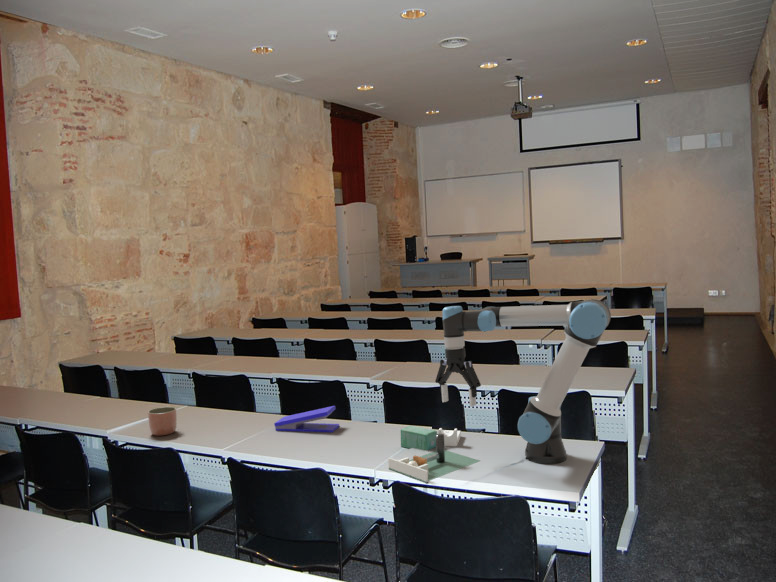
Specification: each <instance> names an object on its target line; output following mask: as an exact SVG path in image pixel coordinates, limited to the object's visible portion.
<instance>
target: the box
mask: <svg viewBox="0 0 776 582" xmlns="http://www.w3.org/2000/svg"><path fill="white" fill-rule="evenodd" d="M436 434H438V432H437V430H435V429H434V430H433V429H429V428H426V427H425V428H424V427H420V426H413V425H408V426H407V427H403V428H401V429H400V447H402V448H405V449H417V450H423V451H429V450H432V449H434V448H436V437H435V435H436Z"/></svg>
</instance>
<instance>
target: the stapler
mask: <svg viewBox="0 0 776 582" xmlns="http://www.w3.org/2000/svg"><path fill="white" fill-rule="evenodd" d="M336 409H337V408H336V405H332V406H331V405H330V406H327V407H322V408H318V409H313V410H309V411H305V412H300V413H295V414H291V415H286V416H283V417H282V418H280V419H279V420H277V421H275V422H274V427H275V431H277V432H309V433H311V432H312V433H314V432H315V433H333V432H335V431H336V430H337V429H338V428H339V427H340V423H323V422H322V423H311V422H314V421H321V420H325V419H326V418H328V417H329V416H330V415H331V414H333V412H334V411H335V410H336ZM334 430H335V431H334Z"/></svg>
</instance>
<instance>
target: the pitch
mask: <svg viewBox="0 0 776 582" xmlns="http://www.w3.org/2000/svg"><path fill="white" fill-rule="evenodd" d="M434 454H436V450H435V451H433V452H430V453H427V454H426V453H425V454H424V455H421V456H419V457H422V458H425V457H428V456H431V455H434ZM387 461H388V470H389V471H391V472H395V473H396V474H400V475H403V476H406V477H409V478H411V479H414V480H416V481H419V482H421V483H425V484H430V482H429V481H432V480H434V479H436V478H440V477H442V476H445V475H447V474H450V473H452V472H455V471H457V470H458V471H459V470H460V469H463V468H465V467H468V466H470V465H473V464H477V463H478V462H481V460H480V459H475V458H473V457H469V456H466V455H463V454H460V453H457V452H453V451H450V450H447V449H445V462H442V463H439V462H436V459H435V460H432V461H430V462H427V464H424V465H421V466H418V467H415V466H412V465H409V464H408V463H409V462H410V461H413V458H412V459H410V457H407V456H406V457H404V458H401V459H394V458H392V457H388V459H387Z"/></svg>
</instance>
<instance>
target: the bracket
mask: <svg viewBox="0 0 776 582" xmlns="http://www.w3.org/2000/svg"><path fill="white" fill-rule="evenodd" d="M438 434H444V447H458V444H459V441H460V439H461V437H462V430H458V428H454V430H446V429H445V430H444V429H443V428H442V427H440V428H439V429H438Z"/></svg>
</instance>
